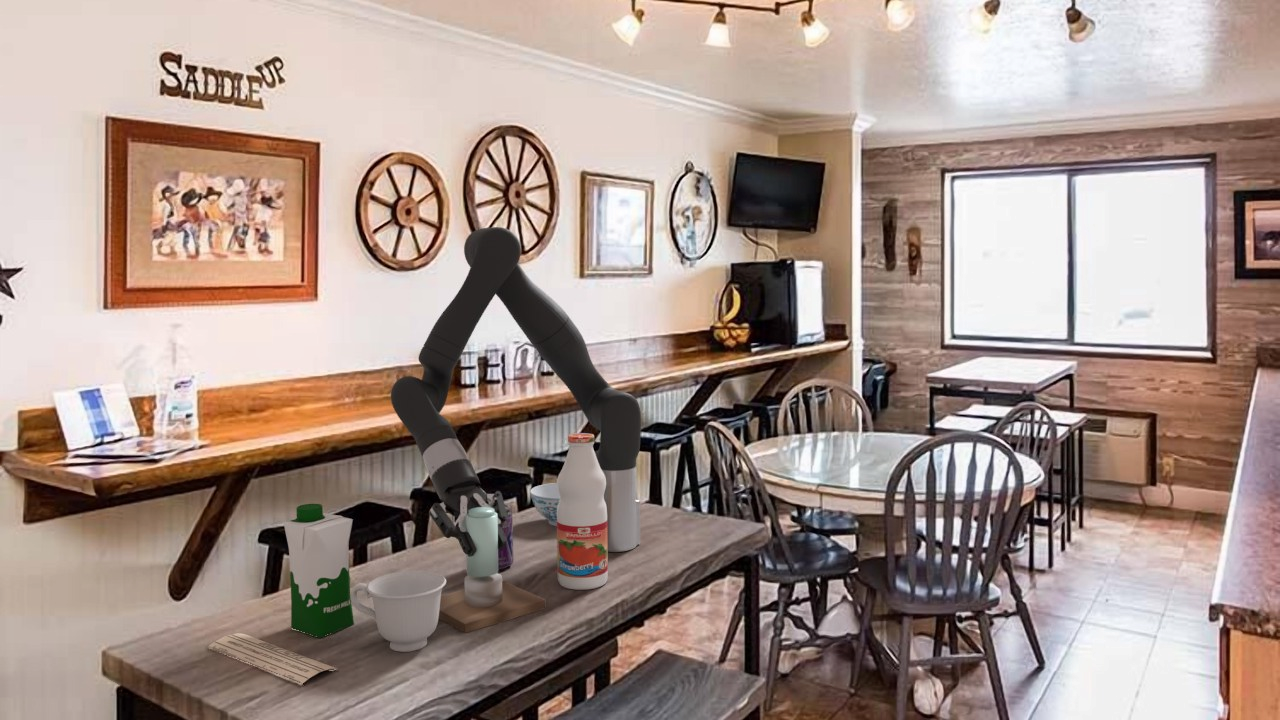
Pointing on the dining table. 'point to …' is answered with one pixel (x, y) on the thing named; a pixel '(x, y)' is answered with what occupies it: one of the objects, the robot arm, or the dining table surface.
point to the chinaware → (546, 501)
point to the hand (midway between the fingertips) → (488, 550)
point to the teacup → (403, 606)
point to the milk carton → (319, 571)
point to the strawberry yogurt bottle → (581, 517)
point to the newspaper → (269, 657)
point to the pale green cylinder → (483, 541)
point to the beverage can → (507, 552)
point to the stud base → (487, 614)
